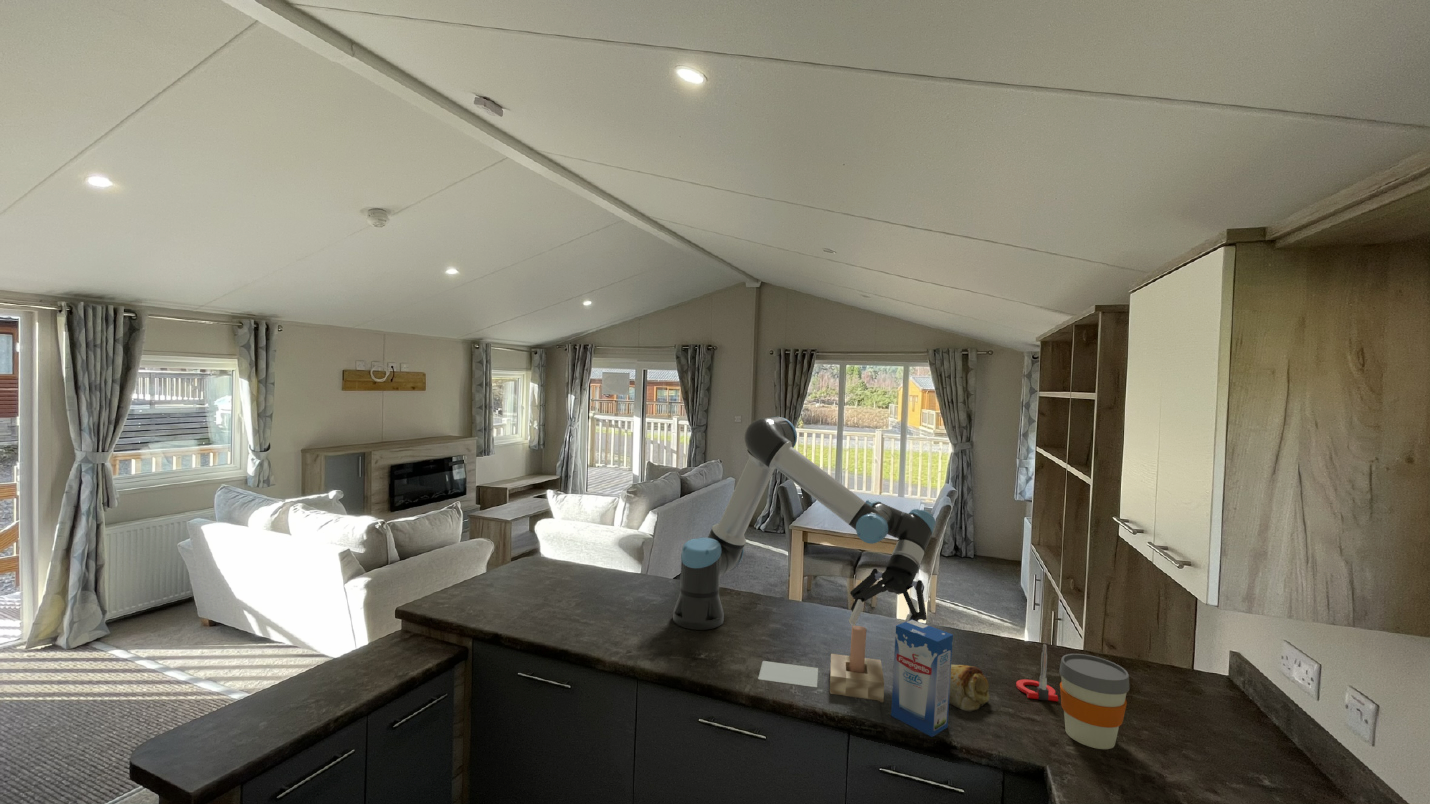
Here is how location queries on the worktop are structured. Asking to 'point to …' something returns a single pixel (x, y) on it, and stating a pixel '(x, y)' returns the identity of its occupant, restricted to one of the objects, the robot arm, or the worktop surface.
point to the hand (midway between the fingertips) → (875, 632)
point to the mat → (789, 674)
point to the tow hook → (1039, 683)
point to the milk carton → (922, 676)
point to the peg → (857, 649)
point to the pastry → (968, 687)
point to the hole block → (856, 678)
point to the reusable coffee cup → (1093, 699)
